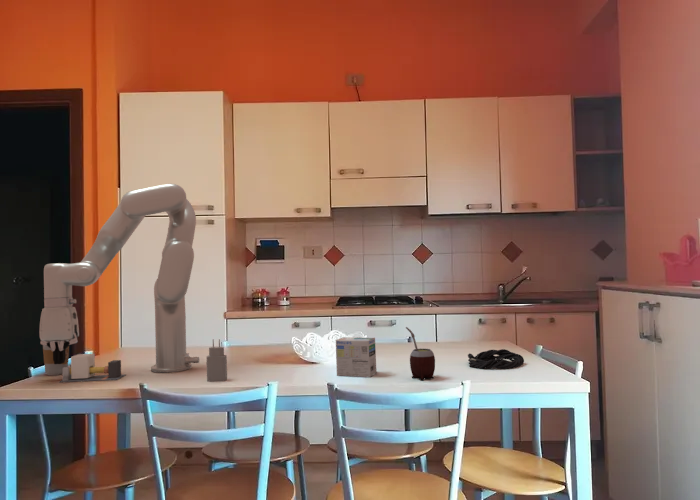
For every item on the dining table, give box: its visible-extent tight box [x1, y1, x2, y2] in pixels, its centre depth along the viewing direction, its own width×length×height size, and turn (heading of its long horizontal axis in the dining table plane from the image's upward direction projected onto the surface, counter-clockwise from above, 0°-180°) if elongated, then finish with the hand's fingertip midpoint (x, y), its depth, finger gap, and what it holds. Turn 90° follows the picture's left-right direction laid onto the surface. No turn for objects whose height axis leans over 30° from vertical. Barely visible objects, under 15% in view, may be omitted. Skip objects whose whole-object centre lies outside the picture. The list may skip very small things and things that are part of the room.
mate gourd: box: [405, 326, 436, 382], centre depth 152 cm, size 8×8×15 cm
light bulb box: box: [335, 336, 377, 378], centre depth 160 cm, size 11×7×11 cm, turn 71°
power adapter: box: [206, 339, 228, 383], centre depth 158 cm, size 3×5×12 cm, turn 86°
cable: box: [467, 348, 525, 370], centre depth 168 cm, size 17×14×4 cm
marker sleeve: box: [70, 353, 96, 379], centre depth 165 cm, size 5×5×7 cm
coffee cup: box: [42, 340, 70, 376], centre depth 175 cm, size 8×8×15 cm
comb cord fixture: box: [59, 359, 127, 383], centre depth 165 cm, size 17×7×5 cm, turn 92°
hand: (59, 363), depth 165 cm, fingers closed
